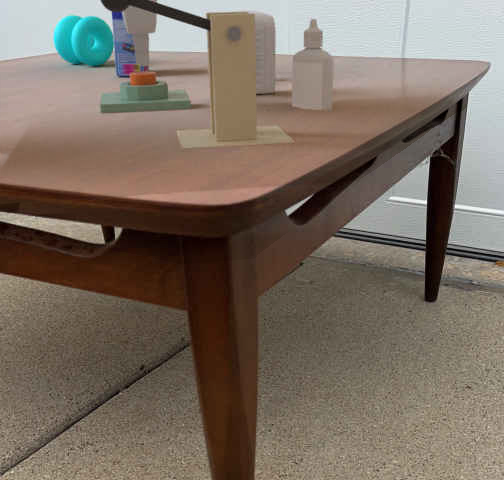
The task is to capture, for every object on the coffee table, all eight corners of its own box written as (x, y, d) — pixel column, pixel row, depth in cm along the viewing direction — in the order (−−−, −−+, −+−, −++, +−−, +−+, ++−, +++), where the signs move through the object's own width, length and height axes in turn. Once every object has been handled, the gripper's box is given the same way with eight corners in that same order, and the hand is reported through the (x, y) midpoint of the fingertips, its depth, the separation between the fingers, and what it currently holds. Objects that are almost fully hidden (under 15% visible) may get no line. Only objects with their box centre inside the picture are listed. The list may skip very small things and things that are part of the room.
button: (130, 88, 94) (129, 75, 93) (130, 84, 97) (129, 71, 96) (157, 87, 94) (156, 74, 93) (156, 83, 97) (155, 70, 97)
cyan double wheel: (93, 61, 157) (87, 13, 153) (118, 64, 151) (114, 14, 146) (54, 65, 151) (47, 16, 146) (79, 68, 144) (73, 17, 140)
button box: (101, 121, 92) (98, 90, 90) (103, 108, 101) (100, 80, 99) (191, 116, 93) (189, 86, 92) (185, 104, 102) (183, 76, 101)
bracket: (183, 159, 72) (174, 17, 66) (177, 141, 80) (168, 12, 74) (295, 152, 74) (296, 13, 68) (278, 135, 82) (277, 9, 76)
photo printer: (271, 90, 113) (270, 8, 108) (279, 94, 109) (278, 10, 104) (210, 94, 111) (206, 11, 105) (215, 98, 107) (212, 12, 102)
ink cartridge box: (145, 77, 131) (138, -7, 125) (115, 77, 131) (107, -6, 125) (151, 70, 140) (145, -8, 134) (123, 71, 140) (116, -7, 133)
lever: (95, 7, 67) (102, -28, 66) (96, 6, 70) (103, -28, 69) (240, 52, 71) (249, 21, 70) (236, 49, 74) (244, 19, 73)
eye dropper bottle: (304, 119, 90) (305, 21, 85) (289, 112, 95) (289, 18, 90) (335, 117, 91) (338, 19, 86) (318, 110, 96) (320, 17, 91)
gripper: (109, -46, 97) (119, 57, 103) (106, -51, 79) (119, 75, 85) (154, -47, 98) (162, 55, 104) (161, -52, 80) (170, 73, 86)
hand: (142, 64), depth 94 cm, fingers closed
